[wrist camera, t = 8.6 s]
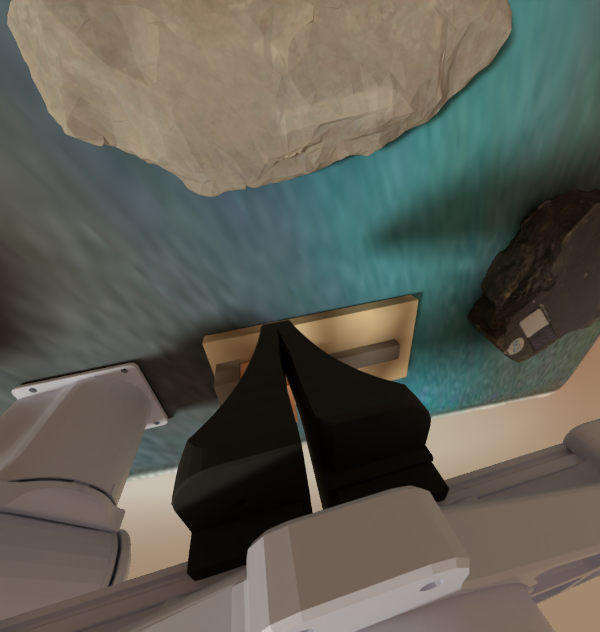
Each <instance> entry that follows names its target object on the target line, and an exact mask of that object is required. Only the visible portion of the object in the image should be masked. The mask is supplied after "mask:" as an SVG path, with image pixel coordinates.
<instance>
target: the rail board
mask: <svg viewBox="0 0 600 632" xmlns="http://www.w3.org/2000/svg"><path fill="white" fill-rule="evenodd" d="M418 301H419V300H418V299H417V298H415V297H414V296H412V295H407V296H402V297H397V298H392V299H387V300H382V301H377V302H372V303H367V304H362V305H357V306H352V307H347V308H342V309H337V310H332V311H327V312H322V313H317V314H312V315H307V316H302V317H297V318H292V319H287V320H289V321H291V322H292V323H293V325H294V326H295V327H296V328H297V329H298V330H299V331H300V332H301V333H302V334H303V335H304V336H306V337H307V338H308V339H309V340H310V341H311V342H313V343H314V344H315V345H316V346H318V347H319V348H320V349H322V350H323V351H325V352H326V353H327V354H329V355H331V356H332V357H334V358H336V359H337V360H339V361H341V362H343V363H345V364H347V365H349V366H351V367H353V368H356V369H358V370H360V371H363V372H365V373H368V374H371V375H373V376H376V377H379V378H382V379H386V380H390V381H391V380H396V379H400V378H404V377H406V375H407V369H408V363H409V357H410V350H411V344H412V338H413V332H414V326H415V319H416V313H417V307H418ZM282 321H284V320H282ZM277 322H279V321H277ZM272 323H274V322H272ZM267 324H269V323H267ZM262 325H264V324H262ZM262 325H257V326H252V327H247V328H242V329H237V330H232V331H227V332H222V333H217V334H212V335H207V336H204V338H203V343H202V345H203V347H204V350H205V352H206V355H207V358H208V360H209V363H210V366H211V368H212V371H213V374H214V376H215V379H214V389H215V392H216V394H217V397H218V400H219V402H220V405H222V404H223V403H224V402H225V400H226V399H227V398H228V396H229V395H230V394H231V392H232V391H233V389H234V388H235V386H236V385H237V383H238V382H239V380H240V379H241V370H240V364H242V363H247V362H250V359H251V357H252V355H253V353H254V350H255V347H256V345H257V342H258V338H259V334H260V327H261V326H262ZM295 404H296V403H295Z"/></svg>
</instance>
